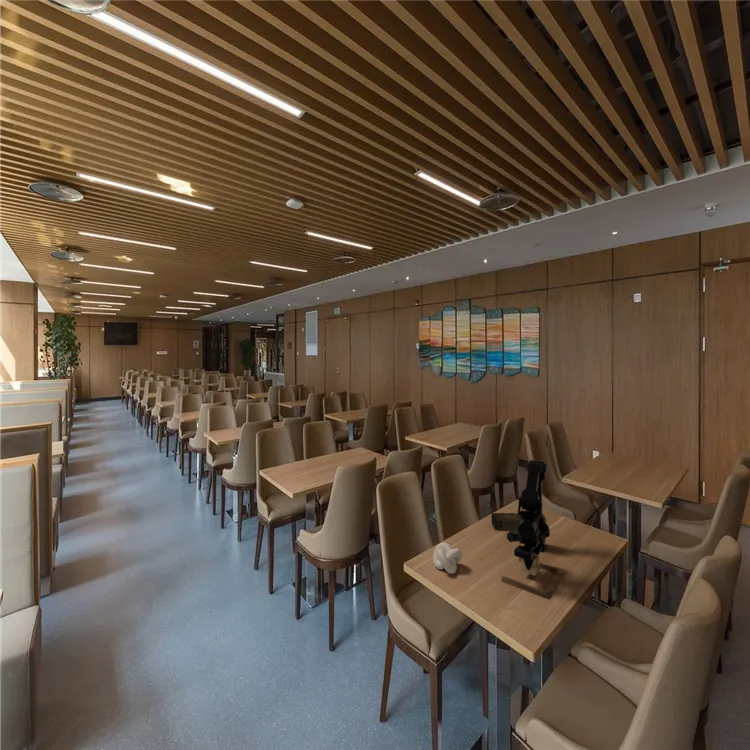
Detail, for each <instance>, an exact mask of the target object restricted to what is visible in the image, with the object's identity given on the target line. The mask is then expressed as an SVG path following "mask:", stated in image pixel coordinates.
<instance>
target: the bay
mask: <svg viewBox="0 0 750 750" xmlns="http://www.w3.org/2000/svg"><path fill="white" fill-rule="evenodd" d="M518 558H519V559H518V561H519V562H521V563H522V558H520V557H518ZM539 569H542V570H545V571H548V572H551V573H554V575H553V576H552V577H551V578H552V579H550V582H548V584H547V586H546V588H545V589H544V590H543V589H540V588H538V587H534V586H532V585H529V584H526V583H524V582H520V581H519V580H515V579H513V578H510V577H508V576H505V575H503V576H502V577H501V582H502V583H505V584H507V585H510V586H512V587H515V588H518V589H520V590H524V591H525V592H528V593H531V594H534V595H536V596H539V597H541V598H544V599H546V600H547V599H549V598H550V595H551V594H552V592H553V591H554V589H555V587H557V585H558V582H559V581H560V579H561V577H562V575H563V574H564V571H563V569H561V568H558V567H556V566H552V565H549V564H546V563H542V562H540V561H539Z"/></svg>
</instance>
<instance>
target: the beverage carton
mask: <svg viewBox="0 0 750 750" xmlns="http://www.w3.org/2000/svg"><path fill="white" fill-rule="evenodd" d="M490 518H491V519H490V520H491V526H492V528H493V529H494V531H505V532H506V531H508V532H509V531H511V530H518V527H519V525H520V522H521V520H522V516H521V515H518V512H516V513H515V512H491V517H490Z"/></svg>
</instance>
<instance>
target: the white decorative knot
mask: <svg viewBox="0 0 750 750" xmlns="http://www.w3.org/2000/svg"><path fill="white" fill-rule="evenodd" d="M462 557H463V552H462V550H461V549H460V548H457V547H455V548H453V547H452V546H451V545H450V544H449V543H447V542H441V543H439V544H438V545H437V546H435V548H434V550H433V554H432V561H433V565H434V566H435V568H436V569H437V570H445V571H446V572H447V573H448V574H450V575H454V574H455V573H456V572H457V568H458V567H457V564H458V563H459V562H460V561H461V559H462Z"/></svg>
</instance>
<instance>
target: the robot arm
mask: <svg viewBox="0 0 750 750" xmlns="http://www.w3.org/2000/svg"><path fill="white" fill-rule="evenodd" d="M525 471H526V472H527V478H526V484H525V488H524V489H522V490H521V495H520V496H519V497H518V508H517V513H518V515H521V516H522V520H521V522H520V525H519V527H518V530H511V531H508V532H507V533H506V540H507V541H508V542H510V543H513V542H518V543H519V544H521V545H517V546H516V547H515V548H514V550H513V552H514V553H513V555H514V557H517V558H519V557H520V558H523V560H524V563H525V566H526V569H527V570H530V568H531V566H532V564H533V561H534V559H535V556H536V555H534V554H538V555H539V556H540V553H544V552H545V551H546V549H547V548H548V545H547V544H546V541H547V538H549V537H550V535H551V533H550V527H549V523H547V517H546V516H545V514H544V513H543V480H544V479H545V477H546V475H547V473H548V464H546V463H545V461H542V460H535V459H534V460H533V459H529V461H526V462H525Z"/></svg>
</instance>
